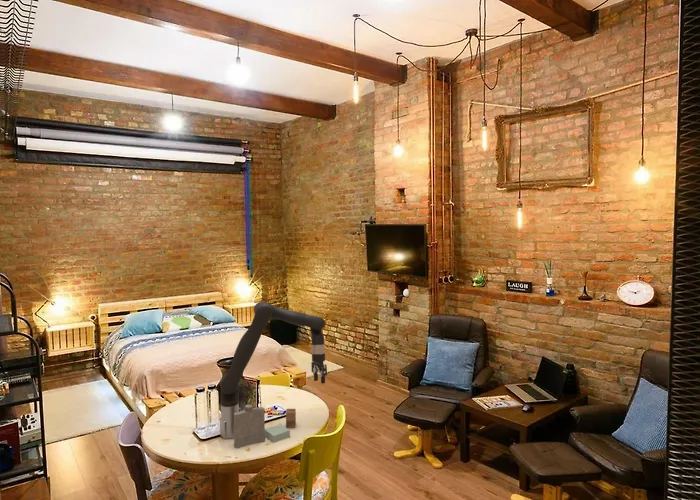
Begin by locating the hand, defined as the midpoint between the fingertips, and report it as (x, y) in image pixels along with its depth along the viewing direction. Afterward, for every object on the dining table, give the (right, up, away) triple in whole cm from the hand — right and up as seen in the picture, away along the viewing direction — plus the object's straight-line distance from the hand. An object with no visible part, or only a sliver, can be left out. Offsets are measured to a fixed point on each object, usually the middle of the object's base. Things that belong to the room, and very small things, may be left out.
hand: (319, 382), depth 257 cm
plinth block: (-22, -27, -10) cm, 36 cm away
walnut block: (-16, -25, +2) cm, 30 cm away
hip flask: (-35, -27, -18) cm, 48 cm away
